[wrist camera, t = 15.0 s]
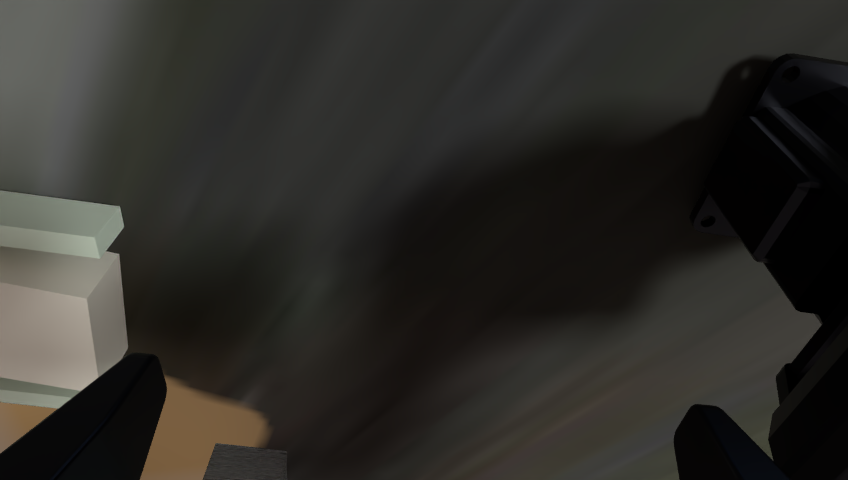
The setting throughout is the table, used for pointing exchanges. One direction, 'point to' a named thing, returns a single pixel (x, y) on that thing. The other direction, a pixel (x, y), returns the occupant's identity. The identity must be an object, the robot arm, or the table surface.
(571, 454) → the table surface
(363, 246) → the table surface
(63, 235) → the bay
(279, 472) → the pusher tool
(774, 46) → the table surface
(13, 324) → the tile
